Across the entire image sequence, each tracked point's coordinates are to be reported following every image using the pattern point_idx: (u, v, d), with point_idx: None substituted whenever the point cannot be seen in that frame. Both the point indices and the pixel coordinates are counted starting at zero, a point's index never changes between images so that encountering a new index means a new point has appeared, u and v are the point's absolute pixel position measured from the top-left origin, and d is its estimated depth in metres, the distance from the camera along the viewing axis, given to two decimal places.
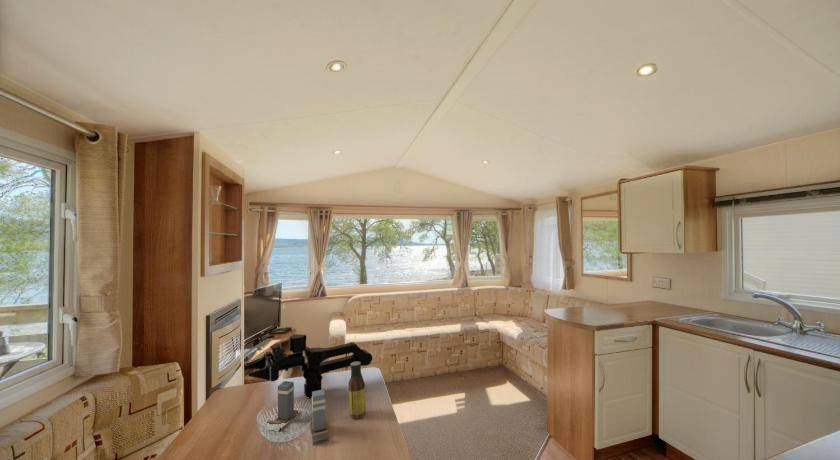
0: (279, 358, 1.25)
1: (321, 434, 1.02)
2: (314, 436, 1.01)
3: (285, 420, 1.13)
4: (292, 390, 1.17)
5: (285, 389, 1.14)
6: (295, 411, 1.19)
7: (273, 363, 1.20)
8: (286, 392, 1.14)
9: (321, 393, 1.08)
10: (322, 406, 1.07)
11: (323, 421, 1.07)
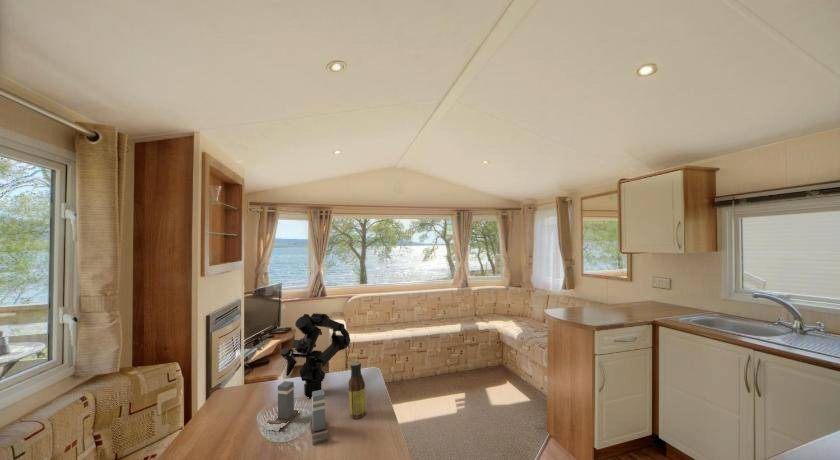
0: None
1: (321, 434, 1.02)
2: (314, 436, 1.01)
3: (285, 420, 1.13)
4: (292, 390, 1.17)
5: (285, 389, 1.14)
6: (295, 411, 1.19)
7: (314, 353, 1.24)
8: (286, 392, 1.14)
9: (321, 393, 1.08)
10: (322, 406, 1.07)
11: (323, 421, 1.07)
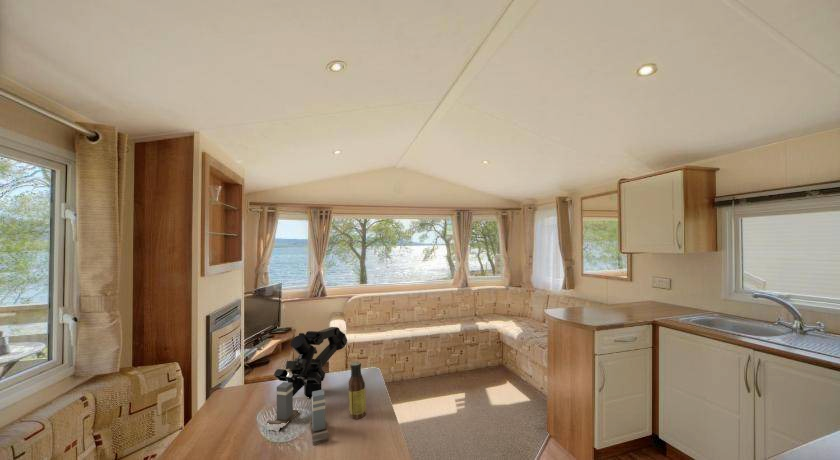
0: None
1: (321, 434, 1.02)
2: (314, 436, 1.01)
3: (285, 420, 1.13)
4: (291, 391, 1.16)
5: (284, 390, 1.13)
6: (295, 411, 1.19)
7: (310, 374, 1.20)
8: (285, 393, 1.13)
9: (321, 393, 1.08)
10: (322, 406, 1.07)
11: (323, 421, 1.07)
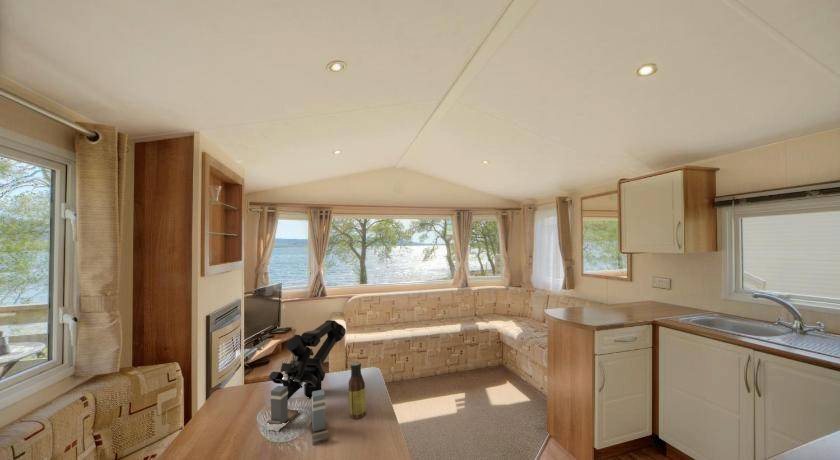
0: None
1: (321, 434, 1.02)
2: (314, 436, 1.01)
3: None
4: (286, 395, 1.13)
5: (278, 394, 1.10)
6: (295, 411, 1.19)
7: (305, 377, 1.17)
8: (279, 397, 1.10)
9: (321, 393, 1.08)
10: (322, 406, 1.07)
11: (323, 421, 1.07)
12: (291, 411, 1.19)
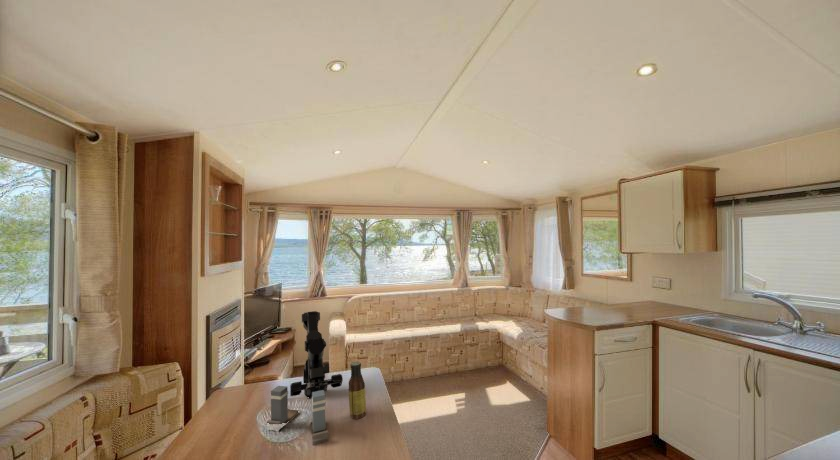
0: None
1: (321, 434, 1.02)
2: (314, 436, 1.01)
3: None
4: (286, 395, 1.13)
5: (278, 394, 1.10)
6: (295, 411, 1.19)
7: (336, 377, 1.17)
8: (279, 397, 1.10)
9: (321, 394, 1.08)
10: (322, 407, 1.07)
11: (323, 422, 1.07)
12: (291, 411, 1.19)
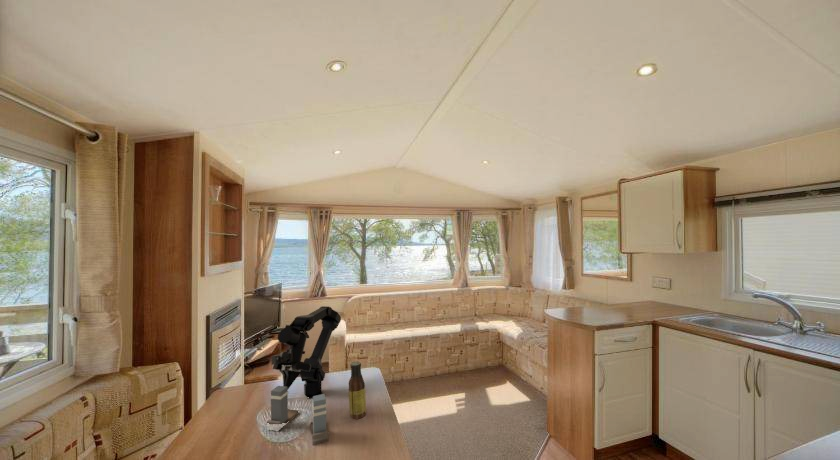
0: (290, 358, 1.18)
1: (321, 434, 1.02)
2: (314, 436, 1.01)
3: None
4: (286, 395, 1.13)
5: (278, 394, 1.10)
6: (295, 411, 1.19)
7: (293, 365, 1.14)
8: (279, 397, 1.10)
9: (322, 398, 1.05)
10: (323, 411, 1.04)
11: (324, 427, 1.04)
12: (291, 411, 1.19)
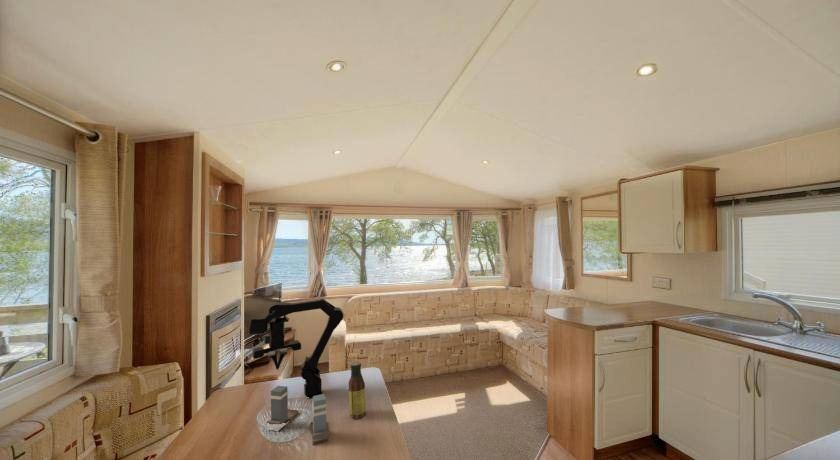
0: (269, 342, 1.32)
1: (321, 434, 1.02)
2: (314, 436, 1.01)
3: None
4: (286, 395, 1.13)
5: (278, 394, 1.10)
6: (295, 411, 1.19)
7: None
8: (279, 397, 1.10)
9: (322, 398, 1.05)
10: (323, 411, 1.04)
11: (324, 427, 1.04)
12: (291, 411, 1.19)
